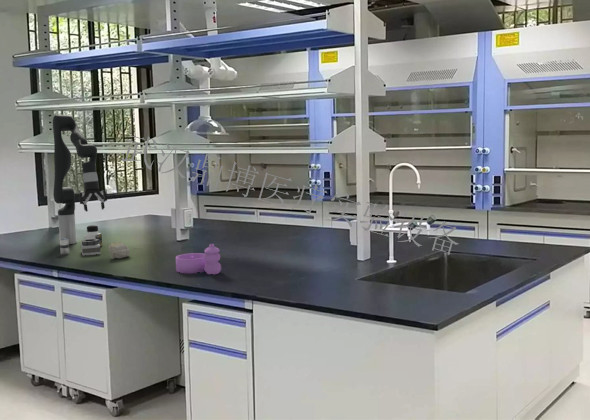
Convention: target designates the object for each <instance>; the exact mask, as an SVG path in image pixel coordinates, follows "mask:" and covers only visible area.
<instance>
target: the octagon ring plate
mask: <svg viewBox="0 0 590 420" xmlns="http://www.w3.org/2000/svg"><path fill="white" fill-rule="evenodd" d="M80 249H81V254H82V256H84V257H85V255H86V256H95V255H96V254H97V255H101V246H100V244H99V240H98V239H87V240H84V239H82V240H81V242H80Z"/></svg>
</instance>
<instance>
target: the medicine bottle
mask: <svg viewBox="0 0 590 420" xmlns="http://www.w3.org/2000/svg"><path fill="white" fill-rule="evenodd" d="M86 233H87V234H84V235H83V237H84V239H83V240H87V239H98V240H99V244H100V247H101V246H103V237H102V236H103V235H102V232H99V226H98V225H95V224H92V225H91V224H90V225H88V226H87V227H86Z"/></svg>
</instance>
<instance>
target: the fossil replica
mask: <svg viewBox="0 0 590 420" xmlns="http://www.w3.org/2000/svg"><path fill="white" fill-rule="evenodd" d="M107 249H108V250H109V254H110V257H111V258H112V259H116V260H117V259H123V258H127V257H129V255H130V249H129V247H128V246H127V245H126V244H124V243H123V242H120V241H116V242H112V243H109V244H108V248H107Z"/></svg>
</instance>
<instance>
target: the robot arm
mask: <svg viewBox="0 0 590 420" xmlns="http://www.w3.org/2000/svg"><path fill="white" fill-rule="evenodd" d="M52 130H53V143H54V144H53V145H54V147H53V148H54V150H53V152H54V153H53V155H54V156H53V164H54V179H53V200H54V202H55V203H56V204H65V205H64V206H62V207H61V208H59V209H58V210H57V217H58V218H57V219H58V220H57V222H58V230H59V231H58V232H59V240H60V239H68V242H69V245H72V244H73V245H74V244H77V243H78V242H77V228H76V216H75V210H76V200H75V199H76V196H75V195H76V194H75V190H74V188H73V187H71V186H66V187H63V186H64V185H63V184H64V180H65V178H66V176H67V174H68V173H69V171H70V169H71V166H72V154H71V151H70V149H69V148H68V146H67V145H66V143H65V142H64V139H63V136H62V132H71V133H70V135H69V136H70V137H69V138H70V142H71V143H72V144H73V146H74V147H75V150H76V154H77V156H78V157H79V158H82V159H84V158H89V159H88V160H87V161H85V162H82V164H81V168H82V176H83V177H82V178H83V179H82V181H83V187H84V192H79V194H78V195H79V196H78V197H79V199H78V200H79V205H83V209H84V211H85V212H88V211H89V209H88V205H87V204H88V202H89V200H90V201H91V200H98V201H99V202H100V206H101V207H100V208H101V210H104V209H105V202H107V201H108V198H107V191H106V190H101V191H100V184H99V178H98V177H99V176H98V173H97V165H96V163H97V156H98V148H97V146H96V145H94V144H92V143H90V144H88V140H87V139H86V137H84V135H83V133H82V132H81V130H80V128H79V126H78V124H77V122H76V120H75V118H74V117H73V116H72V115H70V114H55V115H54V116H53V118H52ZM100 195H102V196H103V198H102V197H101V196H100ZM84 196H85V197H86V198H85V200H84V201H83V197H84Z"/></svg>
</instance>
